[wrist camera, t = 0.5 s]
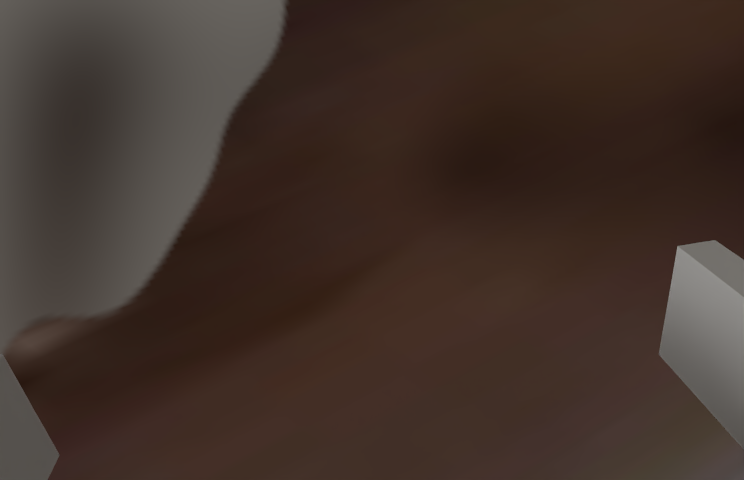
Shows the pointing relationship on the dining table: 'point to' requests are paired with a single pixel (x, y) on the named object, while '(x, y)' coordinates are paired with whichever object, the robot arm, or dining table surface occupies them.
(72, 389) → the dining table surface
